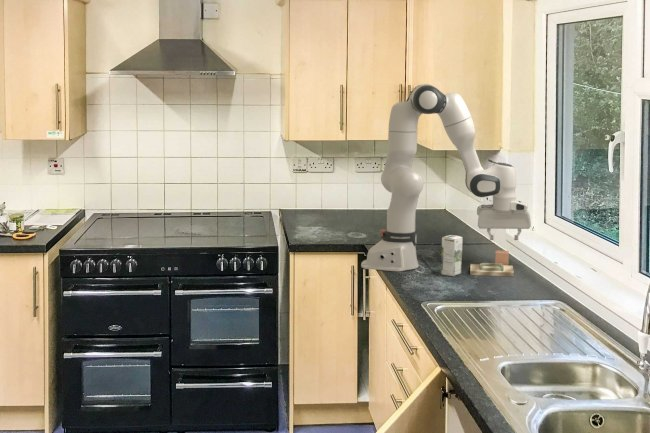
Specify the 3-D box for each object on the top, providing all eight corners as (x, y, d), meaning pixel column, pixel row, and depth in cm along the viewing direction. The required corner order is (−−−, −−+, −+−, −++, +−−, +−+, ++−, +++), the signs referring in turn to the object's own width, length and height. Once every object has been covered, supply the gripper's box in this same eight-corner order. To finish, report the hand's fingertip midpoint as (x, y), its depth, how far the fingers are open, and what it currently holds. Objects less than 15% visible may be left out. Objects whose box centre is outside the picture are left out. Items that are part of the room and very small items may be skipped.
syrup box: (448, 271, 335) (449, 234, 333) (461, 274, 331) (462, 236, 329) (440, 274, 331) (441, 236, 328) (454, 276, 327) (454, 238, 325)
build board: (470, 274, 330) (470, 268, 329) (470, 267, 342) (470, 261, 341) (513, 276, 327) (513, 270, 327) (512, 269, 339) (512, 263, 338)
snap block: (495, 268, 341) (495, 253, 340) (495, 265, 346) (495, 250, 345) (508, 268, 341) (508, 253, 340) (508, 265, 345) (508, 250, 344)
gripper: (476, 205, 338) (476, 241, 340) (531, 206, 334) (530, 241, 337) (476, 203, 344) (476, 237, 347) (530, 203, 341) (530, 238, 343)
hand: (503, 239), depth 342 cm, fingers open, 8 cm apart
